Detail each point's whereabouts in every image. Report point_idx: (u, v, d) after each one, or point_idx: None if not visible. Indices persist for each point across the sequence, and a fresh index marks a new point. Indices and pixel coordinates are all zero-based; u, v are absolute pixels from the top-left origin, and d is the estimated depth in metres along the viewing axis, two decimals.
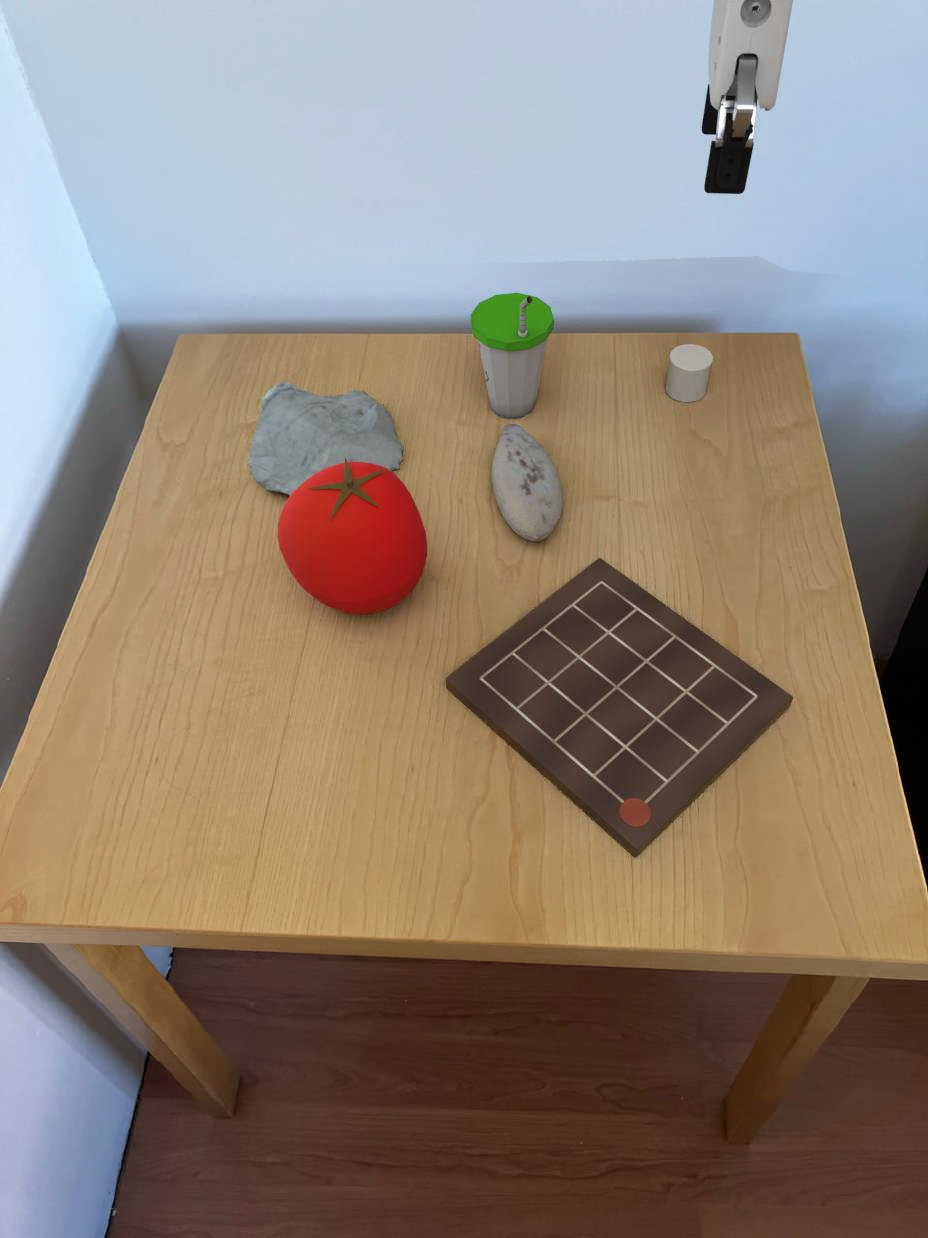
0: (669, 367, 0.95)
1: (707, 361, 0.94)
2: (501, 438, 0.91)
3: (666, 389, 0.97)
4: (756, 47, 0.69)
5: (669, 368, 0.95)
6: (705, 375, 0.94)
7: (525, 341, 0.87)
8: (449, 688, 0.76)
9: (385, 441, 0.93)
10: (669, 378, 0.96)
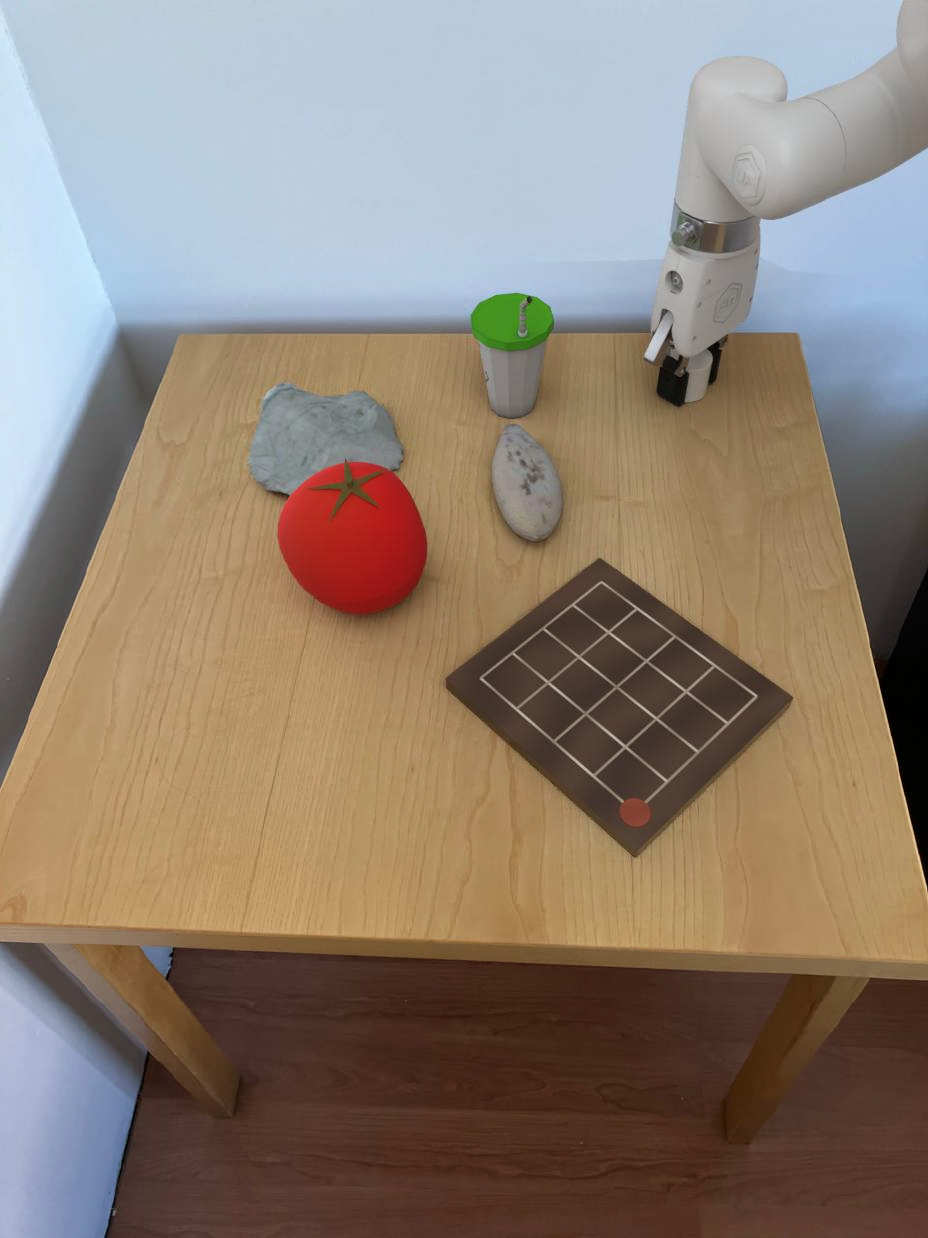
0: None
1: (707, 361, 0.94)
2: (501, 438, 0.91)
3: None
4: (672, 308, 0.86)
5: None
6: (704, 375, 0.94)
7: (525, 341, 0.87)
8: (449, 688, 0.76)
9: (385, 441, 0.93)
10: None
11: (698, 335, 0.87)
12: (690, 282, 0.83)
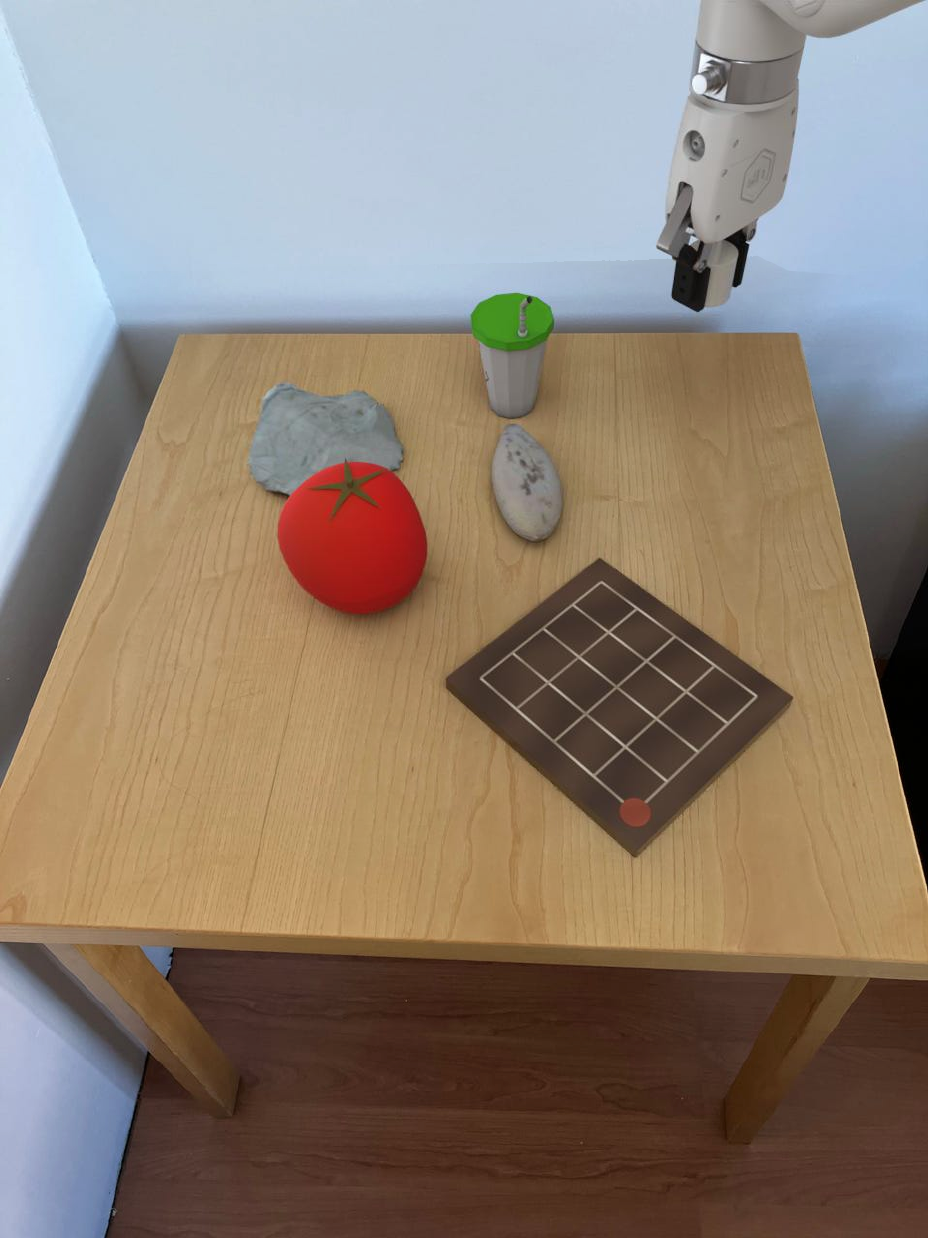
0: None
1: (732, 256, 0.80)
2: (501, 438, 0.91)
3: None
4: (692, 180, 0.71)
5: None
6: (728, 273, 0.80)
7: (525, 341, 0.87)
8: (449, 688, 0.76)
9: (385, 441, 0.93)
10: None
11: (722, 215, 0.73)
12: (714, 143, 0.69)
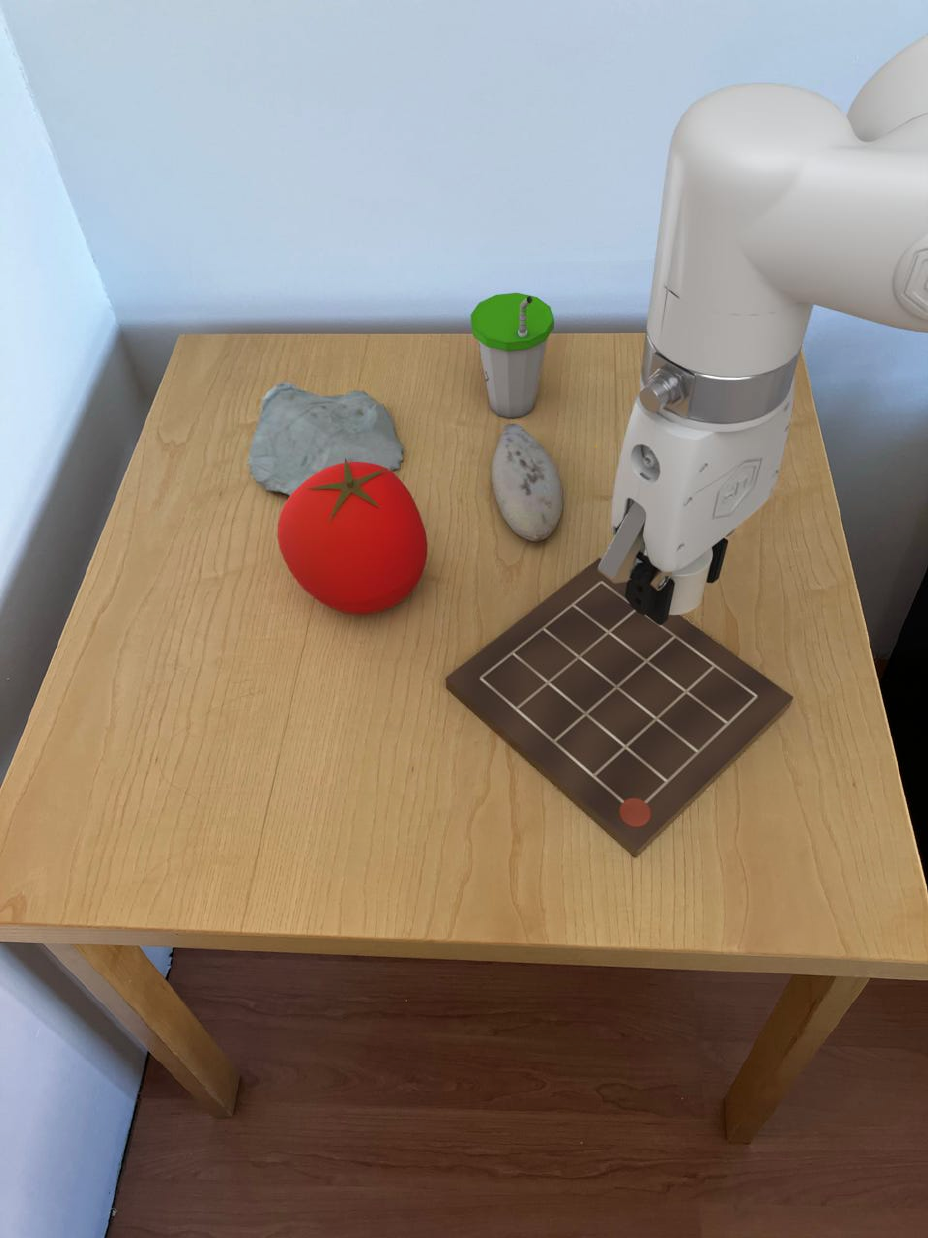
0: None
1: (704, 559, 0.59)
2: (501, 438, 0.91)
3: None
4: (644, 502, 0.51)
5: None
6: (699, 581, 0.60)
7: (525, 341, 0.87)
8: (449, 688, 0.76)
9: (385, 441, 0.93)
10: None
11: (687, 542, 0.52)
12: (672, 469, 0.48)
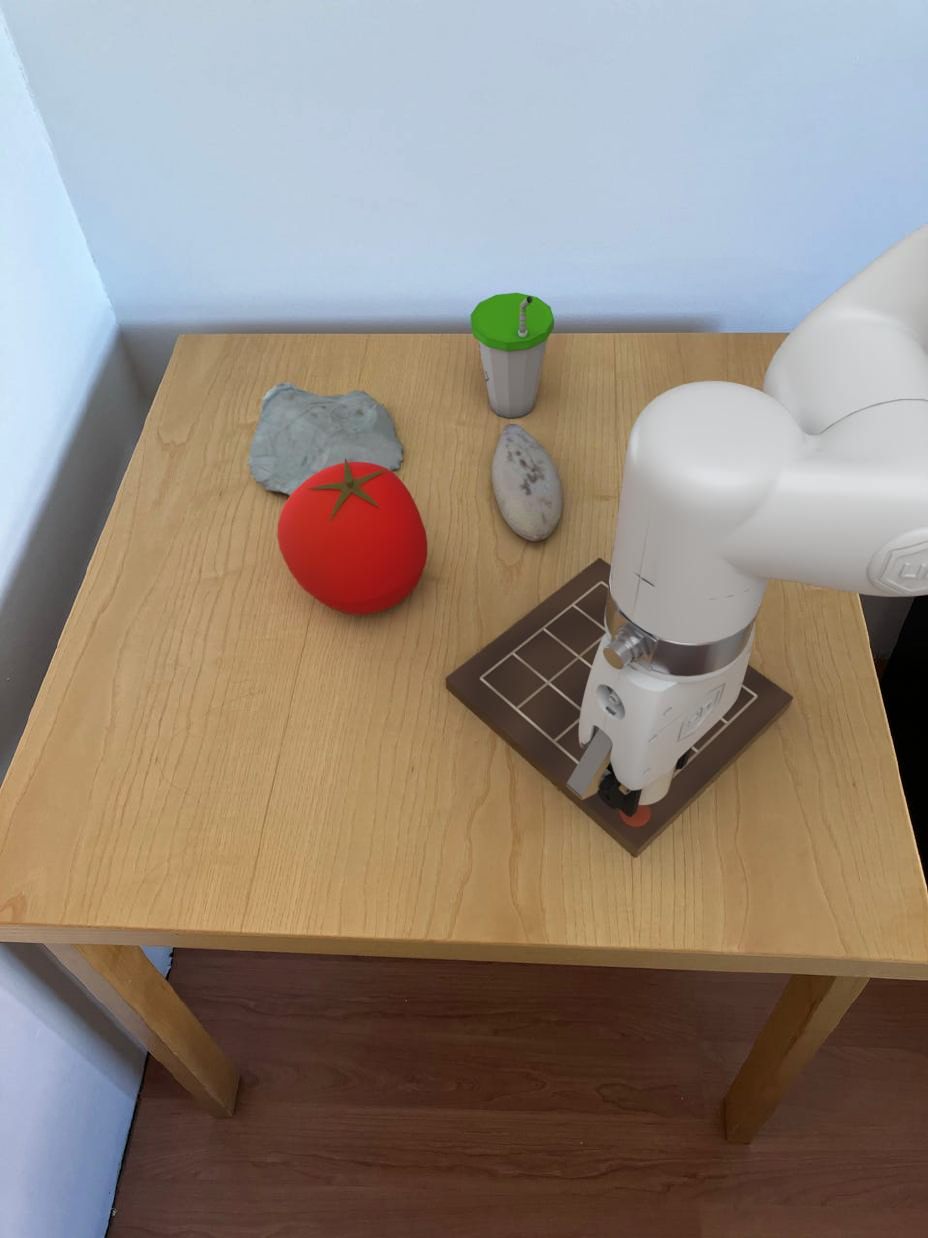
0: None
1: None
2: (501, 438, 0.91)
3: None
4: (610, 733, 0.52)
5: None
6: (667, 778, 0.60)
7: (525, 341, 0.87)
8: (449, 688, 0.76)
9: (385, 441, 0.93)
10: None
11: (653, 766, 0.53)
12: (636, 713, 0.49)
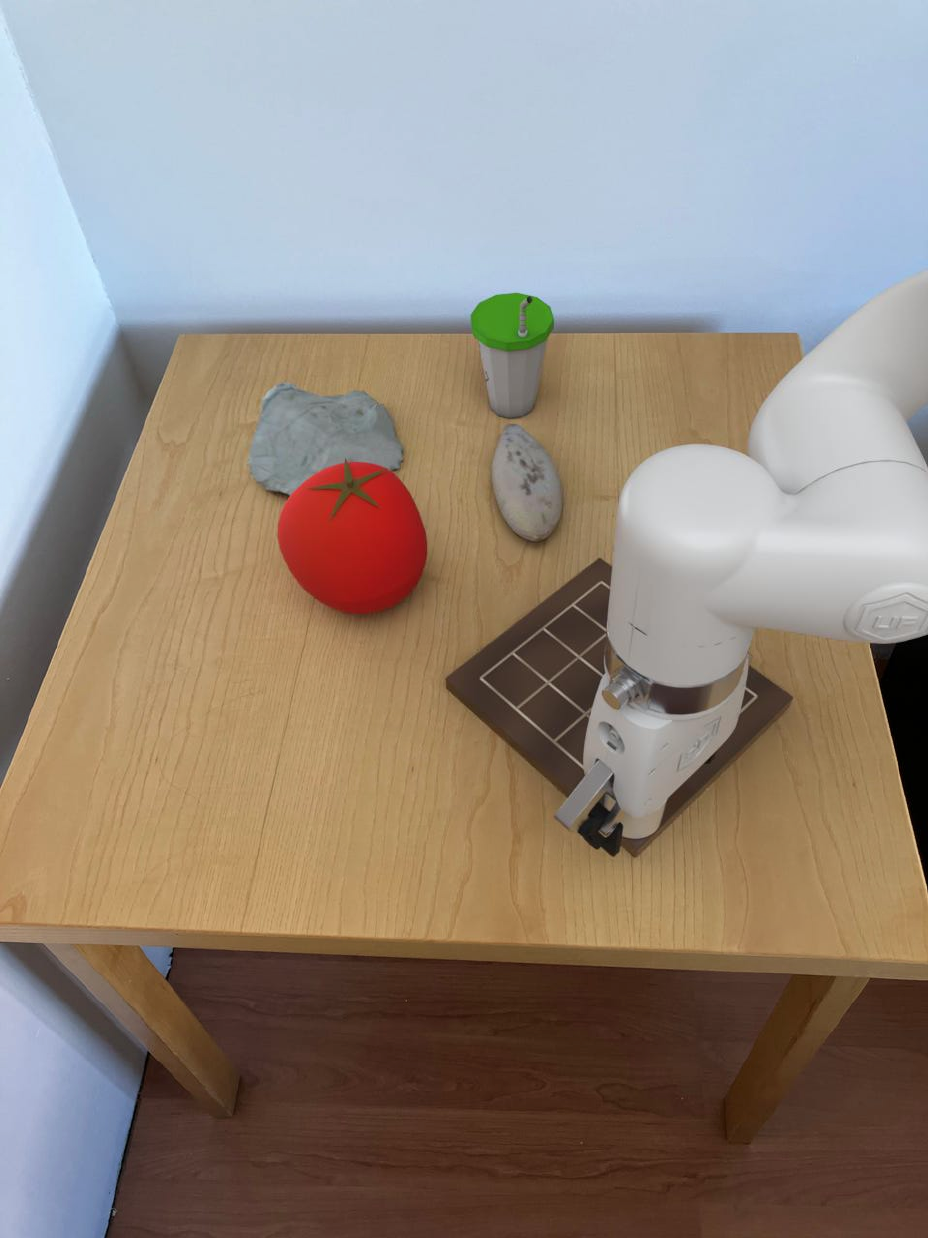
0: (607, 796, 0.65)
1: None
2: (501, 438, 0.91)
3: None
4: (611, 766, 0.55)
5: (607, 797, 0.66)
6: (658, 814, 0.65)
7: (525, 341, 0.87)
8: (449, 688, 0.76)
9: (385, 441, 0.93)
10: (607, 808, 0.66)
11: (654, 796, 0.56)
12: (635, 749, 0.52)
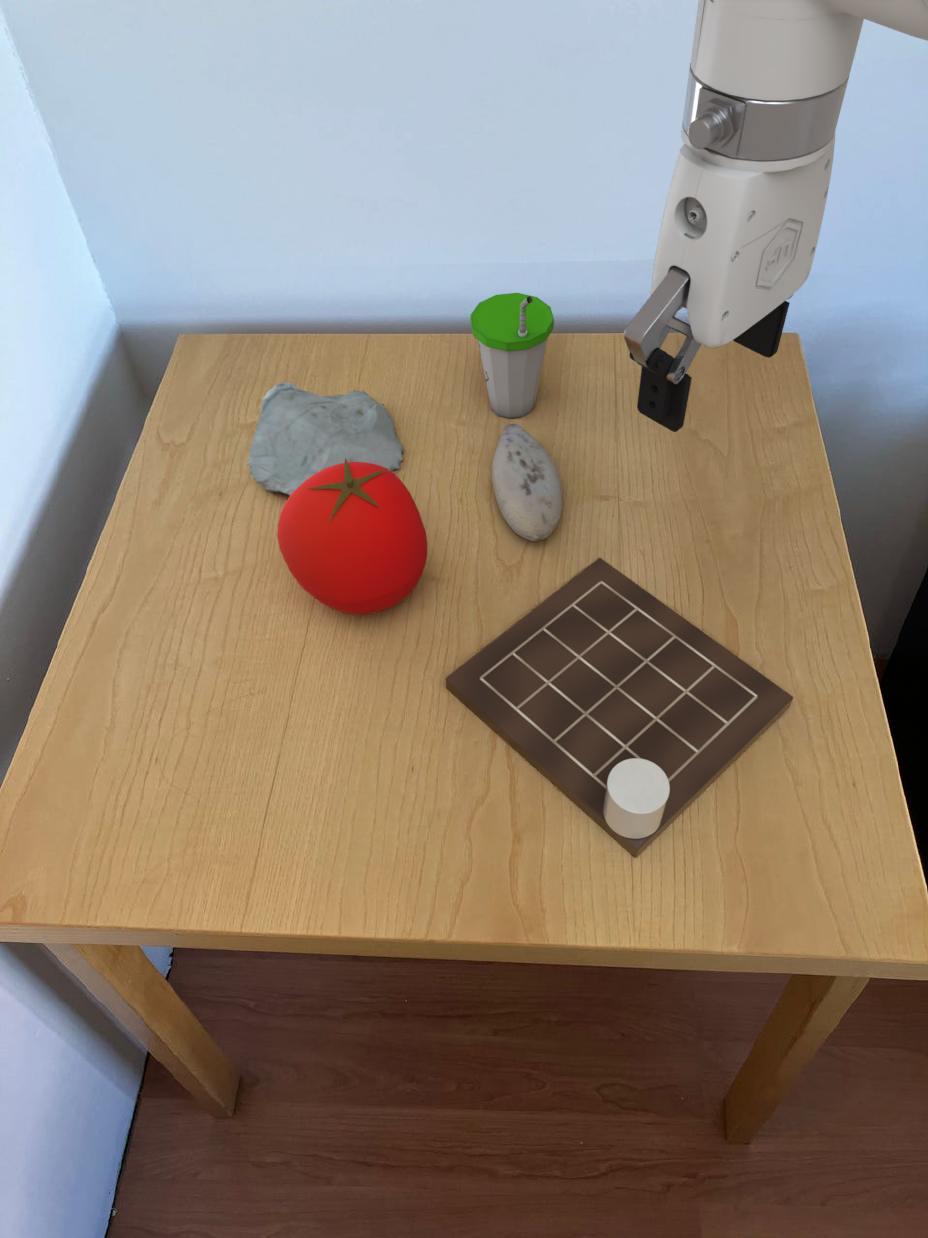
0: (607, 796, 0.65)
1: (661, 796, 0.64)
2: (501, 438, 0.91)
3: (604, 815, 0.68)
4: (688, 265, 0.50)
5: (607, 797, 0.66)
6: (658, 814, 0.65)
7: (525, 341, 0.87)
8: (449, 688, 0.76)
9: (385, 441, 0.93)
10: (607, 808, 0.66)
11: (731, 310, 0.52)
12: (720, 217, 0.48)
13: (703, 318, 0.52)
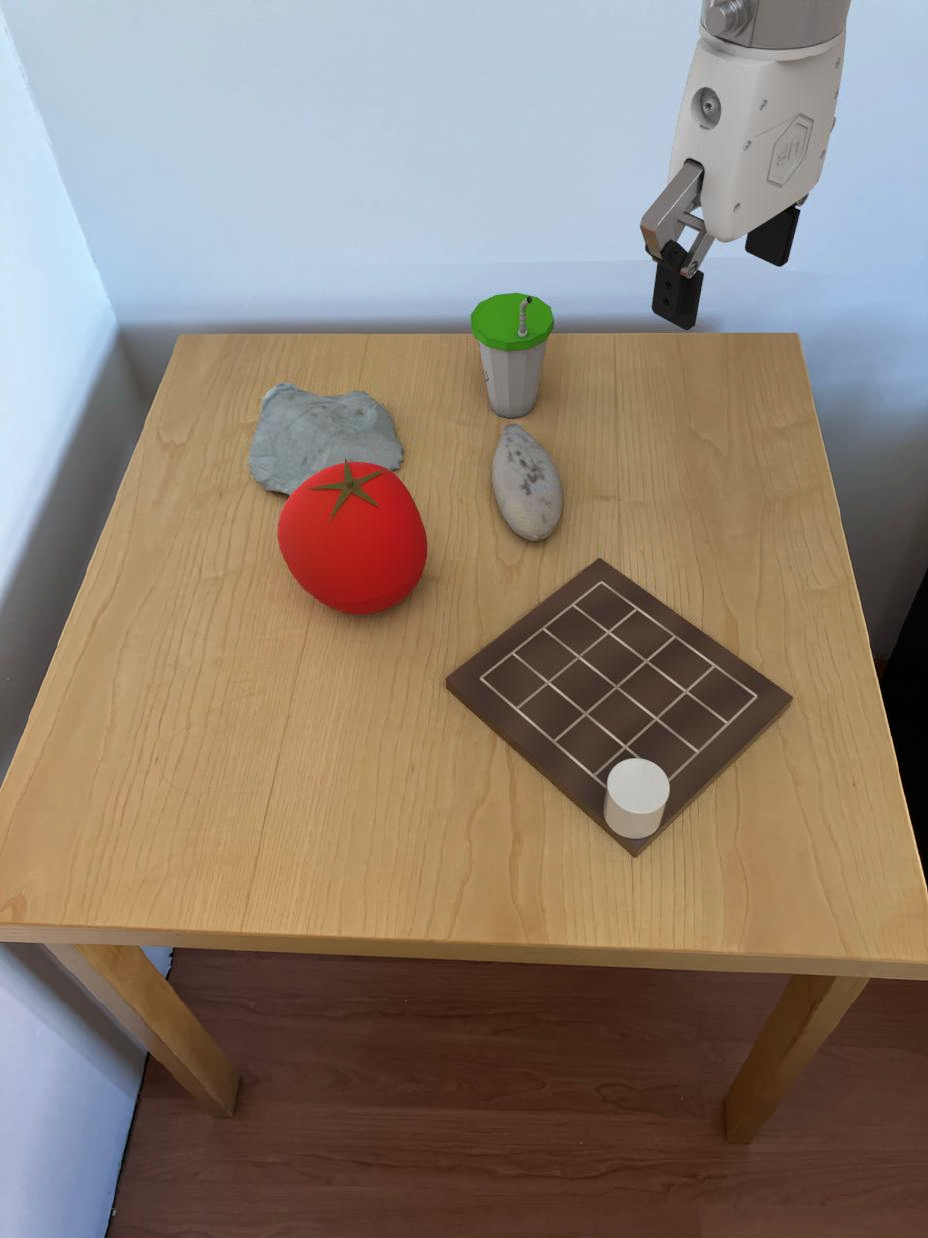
0: (607, 796, 0.65)
1: (661, 796, 0.64)
2: (501, 438, 0.91)
3: (604, 815, 0.68)
4: (703, 156, 0.53)
5: (607, 797, 0.66)
6: (658, 814, 0.65)
7: (525, 341, 0.87)
8: (449, 688, 0.76)
9: (385, 441, 0.93)
10: (607, 808, 0.66)
11: (743, 203, 0.55)
12: (734, 105, 0.50)
13: (716, 210, 0.54)
